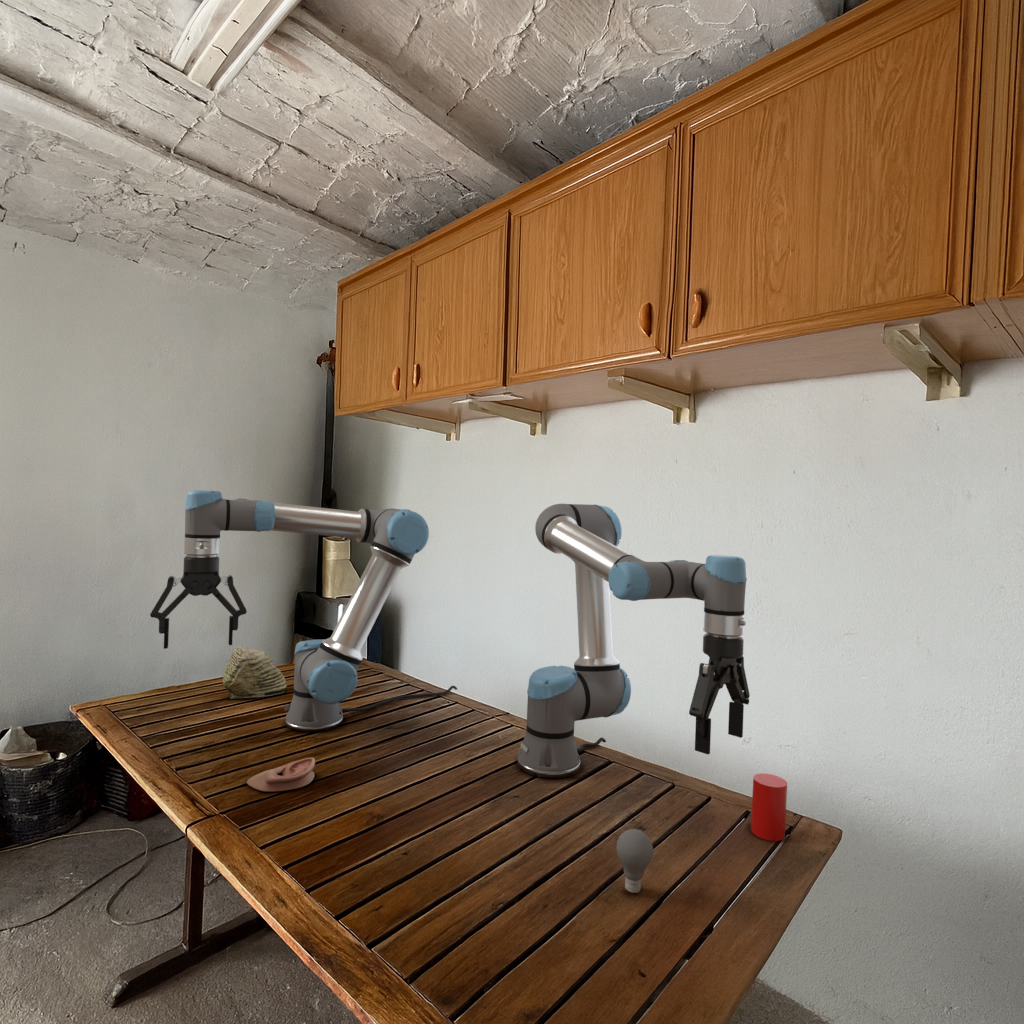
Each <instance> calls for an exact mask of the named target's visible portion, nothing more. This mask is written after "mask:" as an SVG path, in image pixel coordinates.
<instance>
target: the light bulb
mask: <svg viewBox="0 0 1024 1024" xmlns="http://www.w3.org/2000/svg"><path fill="white" fill-rule="evenodd" d="M615 849H616V854H617V857H618V859H619V861H620V863H621V865H622V867H623V873H624V874H623V875H624V876H625V878H624V888H625V890H627V891H628V892H630V893H634V894H635V893H639V892H640V891H641V889H642V887H641V886H642V879H643V877H644V875H645V871H646V868H647V867H648V866H649V864H650V863H651V861H652V859H653V855H654V847H653V843H652V841H651V838H649V836H648V835H647V834H646V833H645V832H643V831H642V830H641V829H636V828H629V829H627V830H625V831H623V832H622V833H621V834H620V835H619V837H618V839H617V841H616V847H615Z"/></svg>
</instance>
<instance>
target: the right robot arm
mask: <svg viewBox="0 0 1024 1024" xmlns="http://www.w3.org/2000/svg"><path fill="white" fill-rule="evenodd" d="M534 530H535V535H536V538H537V541H538V542H539V543H540V544H541V545H542V546H543V547H544V548H545V549H547V550H548V551H550V552H551V553H554V554H561V555H564V556H566V557H568V558H569V559H570V560H571V561H572V562H573V563H574V571H575V592H576V613H577V633H578V634H577V635H578V654H579V656H578V657H577V659H576V660H575V661H574V662H573V667H574V668H573V667H571V666H567V665H549V666H543V667H541V668H540V667H539V668H538V669H536V670H534V671H533V672H532V673H531V674H530V676H529V678H528V685H527V690H526V691H527V693H526V694H527V705H526V706H527V708H526V730H525V735H524V737H523V740H522V742H521V743H520V749H519V751H518V753H517V766H518V768H519V769H520V770H521V771H523V772H524V773H526V774H527V775H530V776H533V777H536V778H543V779H565V778H569V777H572V776H574V775H576V774H578V773H579V771H580V769H581V758H580V754H579V753H580V752H582V751H583V750H584V748H596V747H597V746H599V745H600V744H601V743H607V740H606V739H605V738H604V737H599V738H598V739H597V740H596V741H595V742H592V743H581V744H580V745H579V747H578V746H577V743H576V739H575V724H576V723H575V722H577V721H584V720H590V719H597V718H610V717H611V716H616V715H619V714H622V712H624V711H625V709H626V708H627V707H628V705H629V704H630V703H629V702H630V699H631V695H632V685H631V679H630V678H629V677H628V676H629V675H628V673H627V672H626V671H625V670H624V669H623V668H621V665H620V664H621V663H620V661H619V660H618V659H617V657H615V656H614V646H613V644H614V643H613V629H612V626H613V625H612V609H611V592H612V595H613V596H614V597H615V598H616V599H618V600H620V601H629V602H630V601H631V602H637V601H645V600H665V599H666V600H667V599H668V600H669V599H692V600H699V601H703V602H704V603H703V605H704V606H703V624H702V625H703V627H702V631H703V632H704V634H703V636H702V652H703V654H705V655H707V657H708V663H704V662H700V663H699V667H698V676H697V680H696V684H695V688H694V691H693V695H692V699H691V703H690V708H689V711H688V715H690V716H691V717H695V730H694V731H695V733H694V737H695V738H694V751H695V752H699V753H702V754H705V755H710V754H711V739H712V738H711V736H712V735H711V734H712V733H711V732H712V718H710V715H711V712H712V709H713V707H714V704H715V702H716V699H717V696H718V694H719V692H720V690H721V689H723V688H724V685H725V687H726V689H727V692H728V695H729V697H730V699H731V701H729V703H728V727H727V728H728V729H727V734H728V735H729V736H733V737H737V738H740V739H741V738H743V737H744V710H745V709H744V708H745V707H744V706H745V705H747V706H748V705H749V704H750V696H751V695H750V690H749V685H748V684H749V683H748V681H747V675H746V671H745V658H744V642H745V641H744V640H745V639H744V638H743V637H742V636H743V635H744V634H745V633H744V631H745V626H746V624H747V622H746V620H745V603H746V589H747V588H746V587H747V581H748V580H747V567H746V566H747V565H746V561H745V559H744V558H743V557H741V556H736V555H735V556H734V555H724V554H723V555H722V554H710V555H708V556H707V557H706V558H705V563H701V562H694V561H688V560H686V559H680V560H679V559H676V560H675V559H673V560H672V559H671V560H668V561H645V560H643V559H640V558H639V557H637V556H635V555H633V554H632V553H629V551H625V550H624V549H622V548H620V547H618V546H619V544H620V543H621V541H620V540H622V536H623V535H622V533H623V532H622V531H623V530H622V524H621V520H620V518H619V516H618V514H617V513H616V512H615V511H614V509H612V508H611V507H609V506H606V505H599V504H582V503H581V504H580V503H578V504H576V503H555V504H552V505H550V506H547V507H546V508H545V509H544V510H542V511H541V512H540V513H539V515H538V517H537V519H536V522H535V527H534ZM610 591H611V592H610Z"/></svg>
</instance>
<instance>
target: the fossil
mask: <svg viewBox="0 0 1024 1024" xmlns="http://www.w3.org/2000/svg"><path fill="white" fill-rule="evenodd" d="M222 676H223V677H222V685H223V687H224V688H225V690H226V691H228V693H229V698H230V699H250V698H264V697H271V696H275V695H281V694H284V693H285V691H286V689H287V687H288V686H287V680H286V678H285V676H284V674H283V673H282V672H281V669H279V668H278V667H277V665H276V663H275V662H274V660H273V659H272V658H271V657H270V656H269V655H268V654H267V653H266V652H265V650H264V649H263V648H260V647H258V648H251V647H247V646H246V647H245V646H238V647H237V648H236V649H235V650H233V651H232V653H231V656H230V657H229V659H228V660H227V663H226V666H225V668H224V671H223V675H222Z"/></svg>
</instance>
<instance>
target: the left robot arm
mask: <svg viewBox="0 0 1024 1024" xmlns="http://www.w3.org/2000/svg"><path fill="white" fill-rule="evenodd" d="M186 493H187V494H186V500H185V509H184V542H183V543H184V546H183V547H184V548H183V553H184V555H186V556H184V557H183V569H182V571H183V573H182V576H181V577H179V576H174V575H170V576H168V578H167V583H166V587H165V588H164V590H163V591H162V594H161V595H160V596H159V598H158V600H157V601H156V603H155V605H154V607H153V608H152V610H151V612H150V614H149V616H150V618H155V619H157V620H158V633H159V634H163V649H164V650H165V649H168V648H169V638H170V637H169V635H170V617H168V616H169V615H170V614H171V613H172V612H173V611H174V610H175V609H176V608H177V607H178V605H180V604H181V603H182V601H184V600H185V599H186V597H187V596H188V595H191V596H193V597H194V596H195V597H198V596H204V597H205V596H208V597H209V595H213V596H214V598H216V599H217V600H218V601H219V603H220V604H221V605H222V606H223V607H224V608H225V609H226V610H227V611H228V612H229V613H230V614H231V615H229V616H228V617H229V618H228V622H229V623H228V646H233V638H234V637H233V636H234V635H233V634H234V633H233V632H234V631H238V629H239V618H240V617H241V616H244V615H246V614H247V612H248V611H247V608H246V606H245V604H244V602H243V601H242V600H243V599H241V596H240V595H239V593H238V590H237V589H236V586H235V585H234V578H233V575H232V574H229V575H227V576H220V557H219V556H218V555H219V554H221V532H222V531H224V532H228V531H229V532H230V531H231V532H232V531H233V532H256V533H260V532H270V531H271V532H272V531H273V532H283V533H293V534H303V535H304V534H305V535H315V536H327V537H337V538H347V539H354V540H355V541H356V542H357V543H365V544H370V551H371V557H370V558H369V560H368V563H367V564H366V567H365V569H364V571H363V573H362V574H361V577H360V578H359V580H358V582H357V584H356V586H355V588H354V590H353V591H352V594H351V596H350V598H349V600H348V602H347V604H346V606H345V608H344V610H343V612H342V613H341V616H340V618H339V620H338V622H337V623H336V626H335V628H334V629H333V632H332V634H331V636H330V637H328V638H326V639H325V638H324V639H307V640H302V641H299V642H297V643H296V644H295V650H294V672H293V673H294V674H293V695H292V696H293V697H292V699H291V702H290V703H289V704H287V705H284V710H283V711H284V712H287V713H286V715H285V726H286V728H287V729H289V730H291V731H294V732H295V731H296V732H301V733H316V732H325V731H329V730H332V729H335V728H337V727H339V726H340V725H342V723H343V722H344V714H343V713H346V712H363V711H369V710H370V709H373V708H374V709H375V708H377V707H379V706H382V705H384V704H387V703H390V702H393V701H397V700H402V699H409V698H422V697H436V696H443V695H444V696H445V695H447V694H448V693H450V692H451V691H452V690H453V689H454V690H458V687H457V686H456V685H450V686H449V688H448V689H446V690H445V691H440V692H429V693H415V694H405V695H398V696H394V697H391V698H387V699H385V700H382V701H379V702H376V703H374V704H371V705H367V706H363V707H348V708H342V706H341V702H344V701H346V700H348V698H350V697H351V695H353V693H354V692H355V690H356V688H357V685H358V671H359V668H360V667H361V664H362V662H363V660H364V657H363V656H362V649H363V647H364V645H365V642H366V641H367V639H368V637H369V635H370V632H371V631H372V628H373V627H374V625H375V623H376V620H377V618H378V617H379V614H380V613H381V610H382V609H383V606H384V605H385V603H386V601H387V599H388V596H389V595H390V592H391V590H392V588H393V586H394V584H395V582H396V580H397V578H398V576H399V574H400V572H401V570H402V569H404V568H406V567H409V566H410V565H411V563H412V561H413V559H414V557H415V555H416V554H418V553H420V552H421V551H422V550H423V549H424V548H425V547H426V545H428V542H429V538H430V529H429V526H428V523H427V521H426V519H425V518H424V517H423V516H422V515H421V514H419V513H418V512H416V511H412V510H410V509H407V508H403V509H402V508H399V509H398V508H384V509H383V508H381V509H377V508H375V509H374V508H373V509H371V508H369V509H368V508H360V509H359V510H358V511H357V510H355V511H354V510H347V509H336V508H328V507H319V506H317V507H316V506H308V505H300V504H291V503H290V504H289V503H283V502H273V501H271V500H270V501H269V500H262V499H257V500H256V499H247V498H236V499H226V498H223V496H222V495H223V494H222V492H221V491H219V490H202V489H190V490H189V491H188V492H186ZM179 583H180V584H181V585H182V586H183V588H184V589H183V590H182V591H181V592H180V593H179V594H178V596H176V597H175V598H174V599H173V600H172V602H170V603H169V604H168V606H167V607H165V609H164V610H163V611H162V612H160V610H161V608H162V606H163V605H164V603H165V601H166V600H167V598H168V596H169V595H170V593H171V591H172V590H173V587H177V586H178V584H179ZM220 583H223V585H224V586H226V587H227V588H228V589H229V592H230V593H231V596H232V598H233V600H234V601H235V603H236V606H237V607H238V609H236V608H235V607H234V606H233V605H232V603H231V602H230V601H229V600H228V599H227V598H226V597H225V596H224V595H223V593H221V592H220V590H219V589H218V588H217V587H218V586H219V585H220Z"/></svg>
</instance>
